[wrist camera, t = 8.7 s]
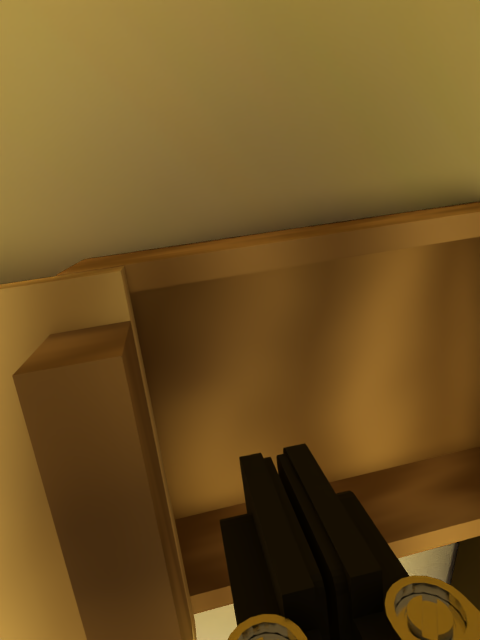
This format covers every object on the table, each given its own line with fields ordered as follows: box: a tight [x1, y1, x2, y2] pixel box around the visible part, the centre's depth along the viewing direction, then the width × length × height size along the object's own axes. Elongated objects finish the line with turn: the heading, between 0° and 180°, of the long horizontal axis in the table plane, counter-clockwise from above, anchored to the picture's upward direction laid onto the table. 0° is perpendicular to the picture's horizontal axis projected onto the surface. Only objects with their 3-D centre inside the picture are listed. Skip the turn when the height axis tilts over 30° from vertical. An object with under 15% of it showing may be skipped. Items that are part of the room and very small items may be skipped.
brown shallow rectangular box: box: [56, 201, 480, 614], centre depth 17 cm, size 18×13×5 cm
